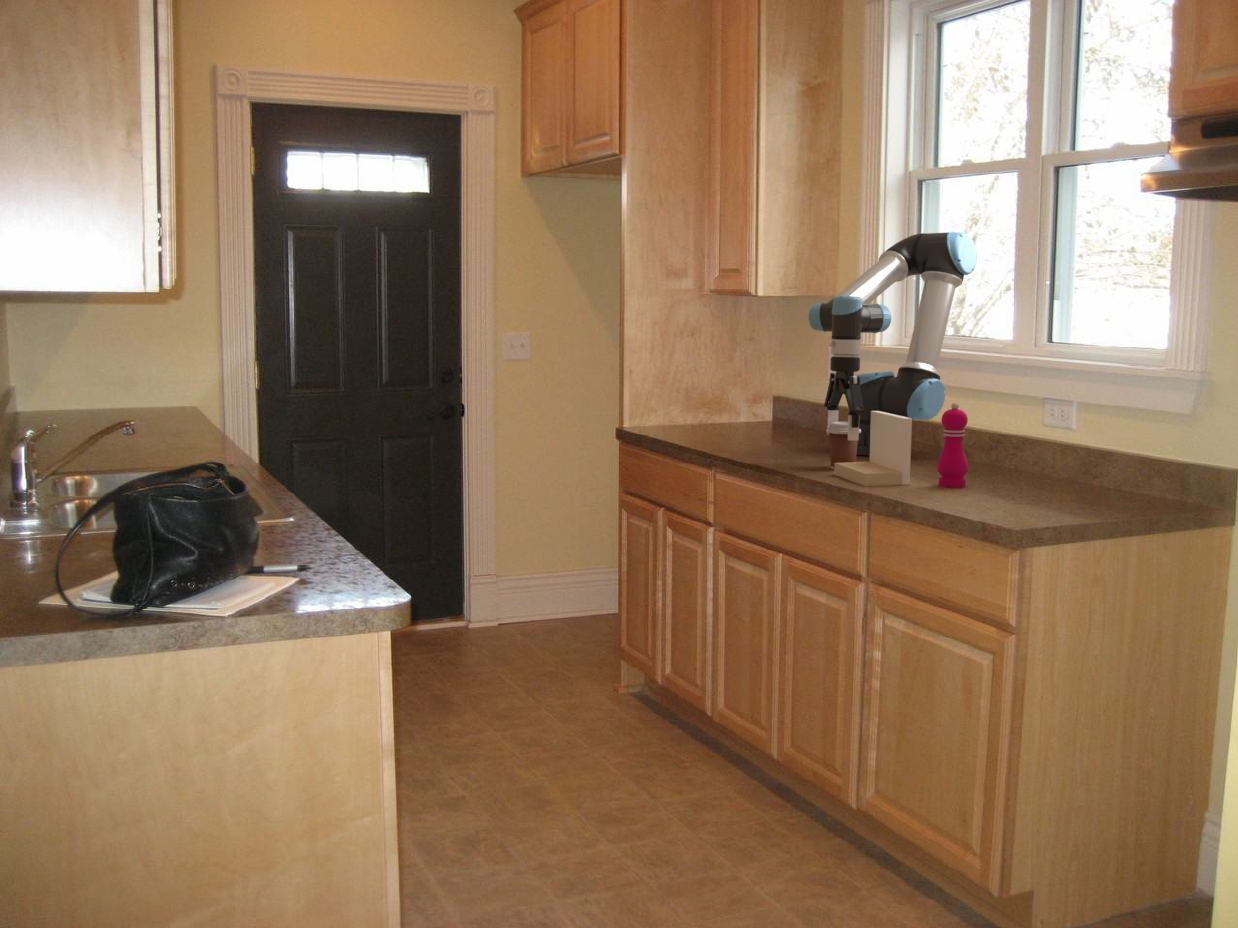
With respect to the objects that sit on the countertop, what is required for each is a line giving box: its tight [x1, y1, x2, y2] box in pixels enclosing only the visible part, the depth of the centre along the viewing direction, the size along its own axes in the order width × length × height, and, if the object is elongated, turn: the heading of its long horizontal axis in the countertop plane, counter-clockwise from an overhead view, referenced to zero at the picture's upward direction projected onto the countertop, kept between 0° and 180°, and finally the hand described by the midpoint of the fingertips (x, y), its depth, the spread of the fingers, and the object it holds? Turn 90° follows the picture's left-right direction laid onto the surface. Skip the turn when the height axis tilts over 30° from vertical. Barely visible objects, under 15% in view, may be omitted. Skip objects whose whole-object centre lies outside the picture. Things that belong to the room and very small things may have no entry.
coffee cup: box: [825, 421, 861, 470], centre depth 322 cm, size 9×9×12 cm
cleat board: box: [833, 411, 913, 487], centre depth 303 cm, size 12×19×16 cm, turn 13°
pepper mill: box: [936, 402, 969, 489], centre depth 293 cm, size 7×7×20 cm
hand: (842, 437), depth 322 cm, fingers open, 13 cm apart
